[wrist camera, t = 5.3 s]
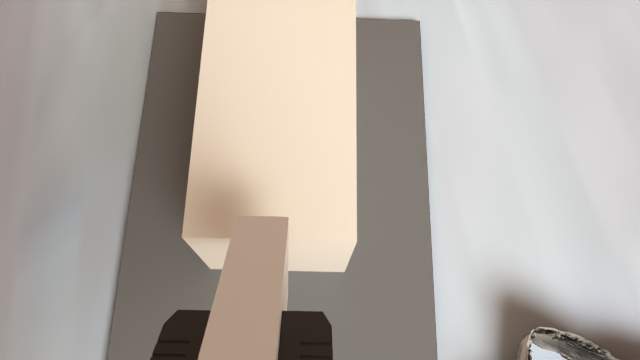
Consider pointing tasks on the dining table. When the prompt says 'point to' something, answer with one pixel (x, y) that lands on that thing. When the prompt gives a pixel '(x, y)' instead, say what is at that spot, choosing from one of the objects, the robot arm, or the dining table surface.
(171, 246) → the charcoal mat
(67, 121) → the dining table surface
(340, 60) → the off-white block
